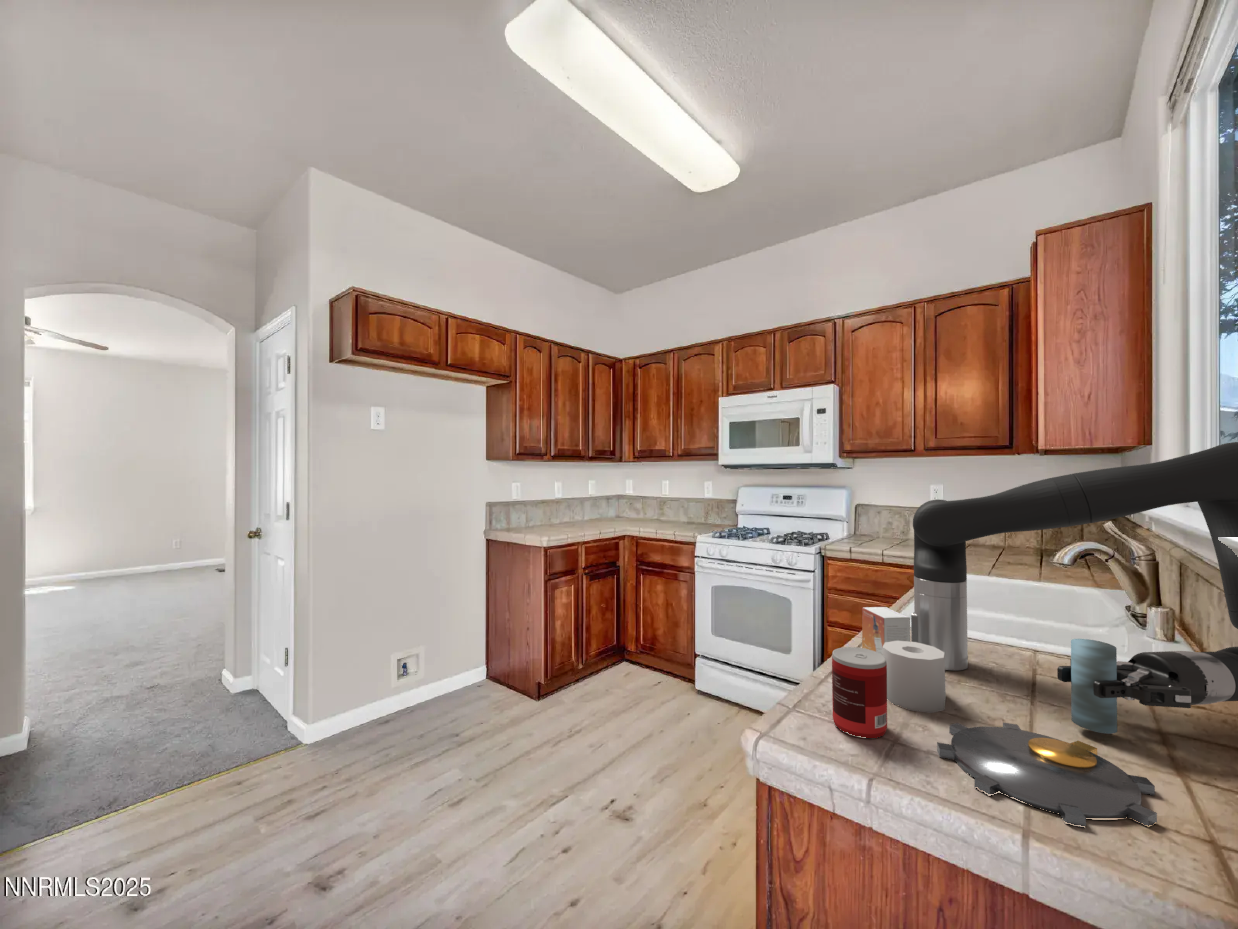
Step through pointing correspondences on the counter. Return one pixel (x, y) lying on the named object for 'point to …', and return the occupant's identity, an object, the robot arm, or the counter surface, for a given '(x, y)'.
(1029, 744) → the sprocket plate
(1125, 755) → the counter surface
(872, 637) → the small box
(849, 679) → the canned food
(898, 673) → the toilet tissue
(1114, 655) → the pin
